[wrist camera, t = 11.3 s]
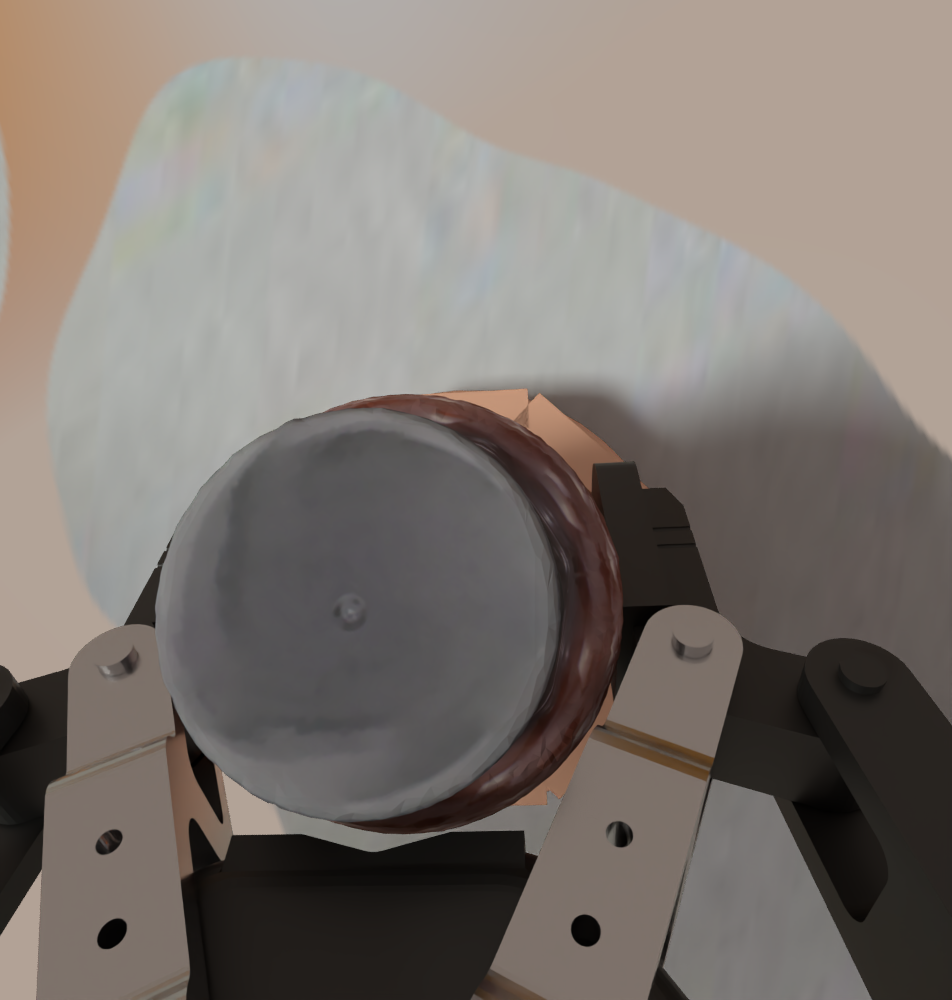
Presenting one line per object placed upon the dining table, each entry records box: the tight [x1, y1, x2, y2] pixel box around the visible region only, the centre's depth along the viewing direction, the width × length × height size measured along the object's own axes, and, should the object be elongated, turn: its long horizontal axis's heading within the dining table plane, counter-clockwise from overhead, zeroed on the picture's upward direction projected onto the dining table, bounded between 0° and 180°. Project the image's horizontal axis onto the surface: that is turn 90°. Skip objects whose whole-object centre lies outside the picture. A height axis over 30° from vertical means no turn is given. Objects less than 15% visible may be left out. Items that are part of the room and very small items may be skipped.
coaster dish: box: [423, 389, 649, 806], centre depth 19 cm, size 11×11×2 cm
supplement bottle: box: [155, 394, 623, 834], centre depth 12 cm, size 6×6×11 cm
